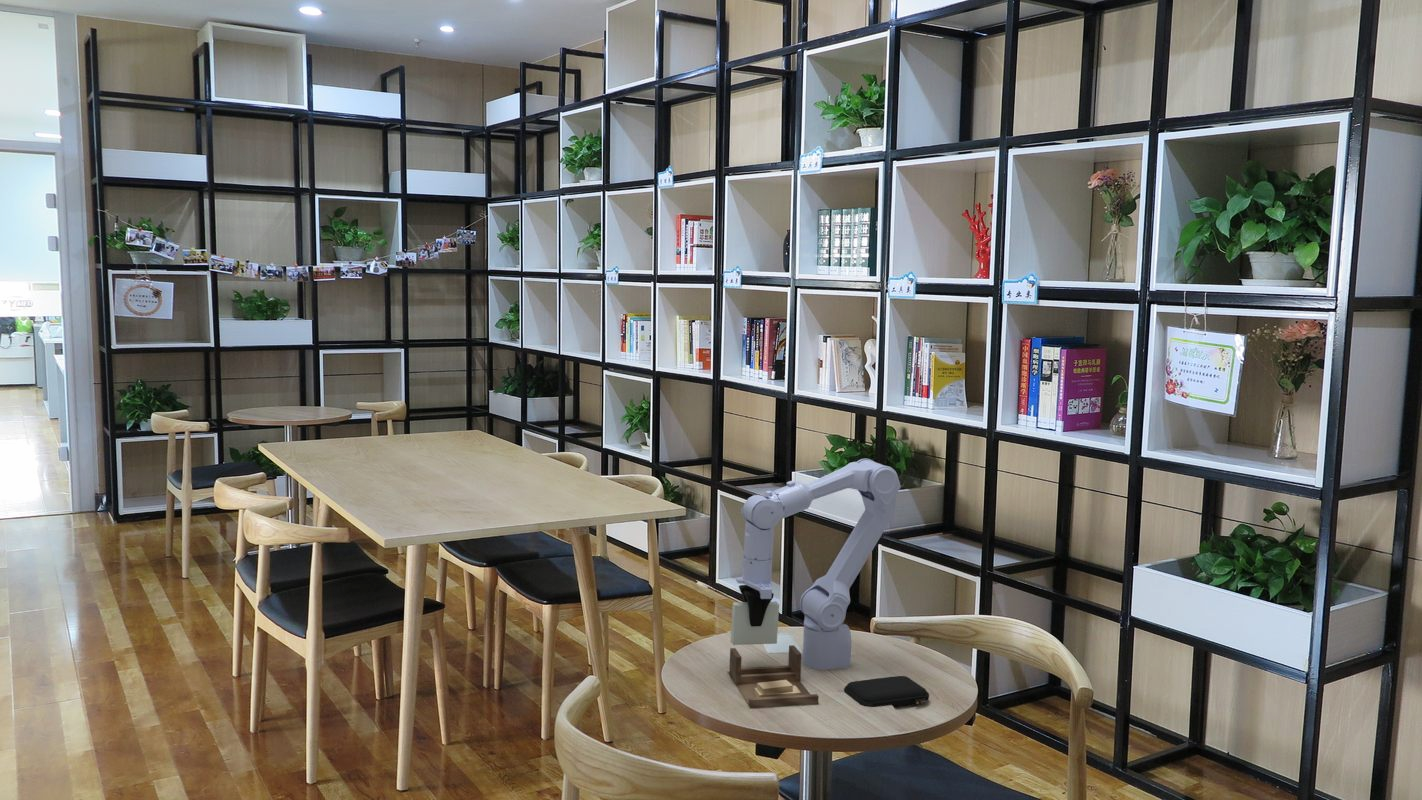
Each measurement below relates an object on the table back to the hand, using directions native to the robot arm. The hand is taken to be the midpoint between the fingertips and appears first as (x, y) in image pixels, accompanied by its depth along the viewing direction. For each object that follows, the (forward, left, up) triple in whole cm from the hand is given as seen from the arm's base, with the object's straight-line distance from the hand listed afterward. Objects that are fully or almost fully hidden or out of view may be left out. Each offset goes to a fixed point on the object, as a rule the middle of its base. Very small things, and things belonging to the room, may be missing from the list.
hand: (754, 623), depth 212 cm
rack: (-1, +9, -10) cm, 14 cm away
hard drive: (-10, -14, -11) cm, 21 cm away
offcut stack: (-1, +14, -9) cm, 17 cm away
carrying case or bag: (-22, +16, -11) cm, 30 cm away
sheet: (0, 0, -4) cm, 4 cm away
